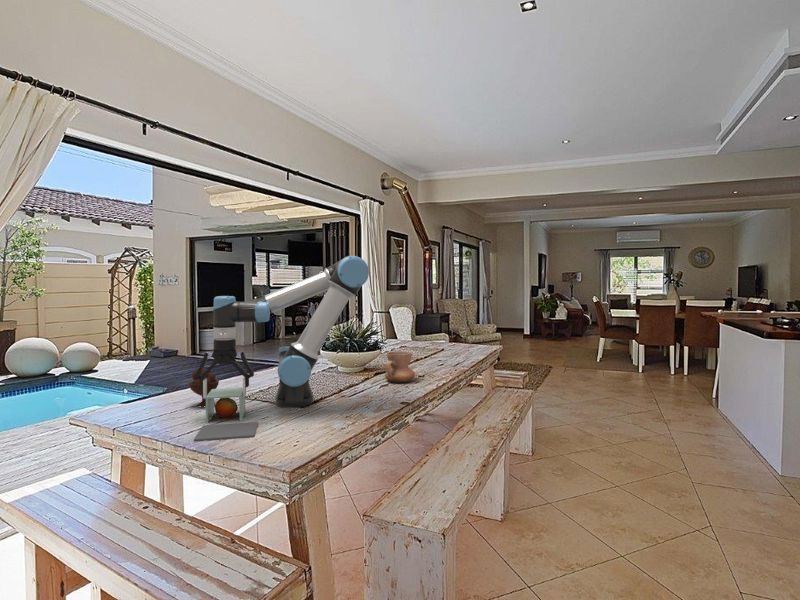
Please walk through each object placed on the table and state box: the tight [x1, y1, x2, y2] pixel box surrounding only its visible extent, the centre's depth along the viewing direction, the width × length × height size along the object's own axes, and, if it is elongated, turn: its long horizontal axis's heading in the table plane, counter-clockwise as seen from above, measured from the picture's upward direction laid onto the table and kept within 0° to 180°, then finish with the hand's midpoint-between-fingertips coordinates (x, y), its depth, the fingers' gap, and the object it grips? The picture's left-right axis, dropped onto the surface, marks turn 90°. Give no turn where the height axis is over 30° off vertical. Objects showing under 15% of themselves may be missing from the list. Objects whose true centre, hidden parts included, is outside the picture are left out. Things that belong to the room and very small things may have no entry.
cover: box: [205, 387, 247, 423], centre depth 170 cm, size 12×12×9 cm
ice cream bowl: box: [188, 367, 220, 408], centre depth 185 cm, size 11×11×15 cm
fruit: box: [214, 397, 239, 419], centre depth 170 cm, size 8×8×8 cm
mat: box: [193, 421, 259, 442], centre depth 154 cm, size 18×14×1 cm
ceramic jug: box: [384, 350, 416, 384], centre depth 226 cm, size 18×14×14 cm
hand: (224, 396), depth 170 cm, fingers open, 13 cm apart
